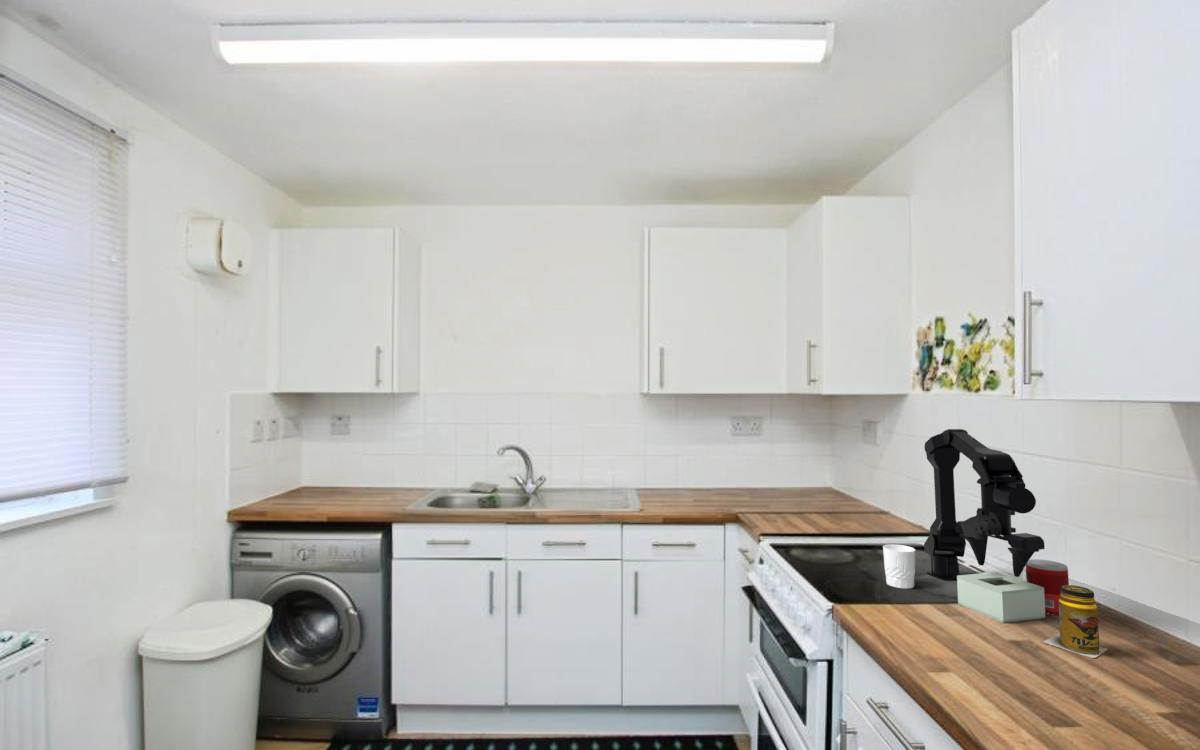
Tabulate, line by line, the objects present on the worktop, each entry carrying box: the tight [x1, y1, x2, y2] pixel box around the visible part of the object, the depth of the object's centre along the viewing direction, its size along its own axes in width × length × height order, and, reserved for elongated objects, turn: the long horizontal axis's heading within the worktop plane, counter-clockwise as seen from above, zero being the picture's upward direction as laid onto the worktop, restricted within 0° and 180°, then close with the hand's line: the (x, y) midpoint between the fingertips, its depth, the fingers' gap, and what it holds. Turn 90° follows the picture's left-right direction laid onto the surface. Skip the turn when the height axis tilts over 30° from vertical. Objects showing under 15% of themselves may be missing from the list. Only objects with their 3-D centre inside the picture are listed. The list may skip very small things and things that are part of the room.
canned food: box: [1025, 558, 1070, 616], centre depth 133 cm, size 8×8×11 cm
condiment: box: [1042, 584, 1109, 659], centre depth 113 cm, size 7×8×12 cm
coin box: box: [956, 571, 1046, 624], centre depth 132 cm, size 12×12×7 cm
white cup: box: [882, 543, 916, 590], centre depth 151 cm, size 8×8×10 cm
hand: (998, 570), depth 132 cm, fingers open, 9 cm apart
